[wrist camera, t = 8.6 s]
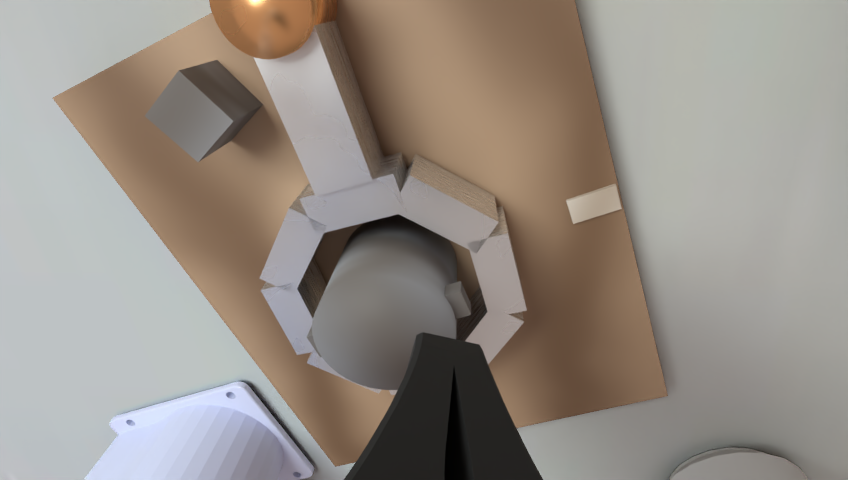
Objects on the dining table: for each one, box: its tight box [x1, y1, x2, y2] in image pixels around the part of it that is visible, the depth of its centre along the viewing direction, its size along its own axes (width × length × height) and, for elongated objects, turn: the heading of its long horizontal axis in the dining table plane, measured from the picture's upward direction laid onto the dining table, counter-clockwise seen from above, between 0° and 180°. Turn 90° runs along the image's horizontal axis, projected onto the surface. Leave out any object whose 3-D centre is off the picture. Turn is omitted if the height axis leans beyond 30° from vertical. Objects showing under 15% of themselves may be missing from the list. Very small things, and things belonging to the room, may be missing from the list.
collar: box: [209, 0, 527, 395], centre depth 16 cm, size 16×9×3 cm, turn 17°
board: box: [53, 0, 668, 466], centre depth 17 cm, size 18×22×6 cm
